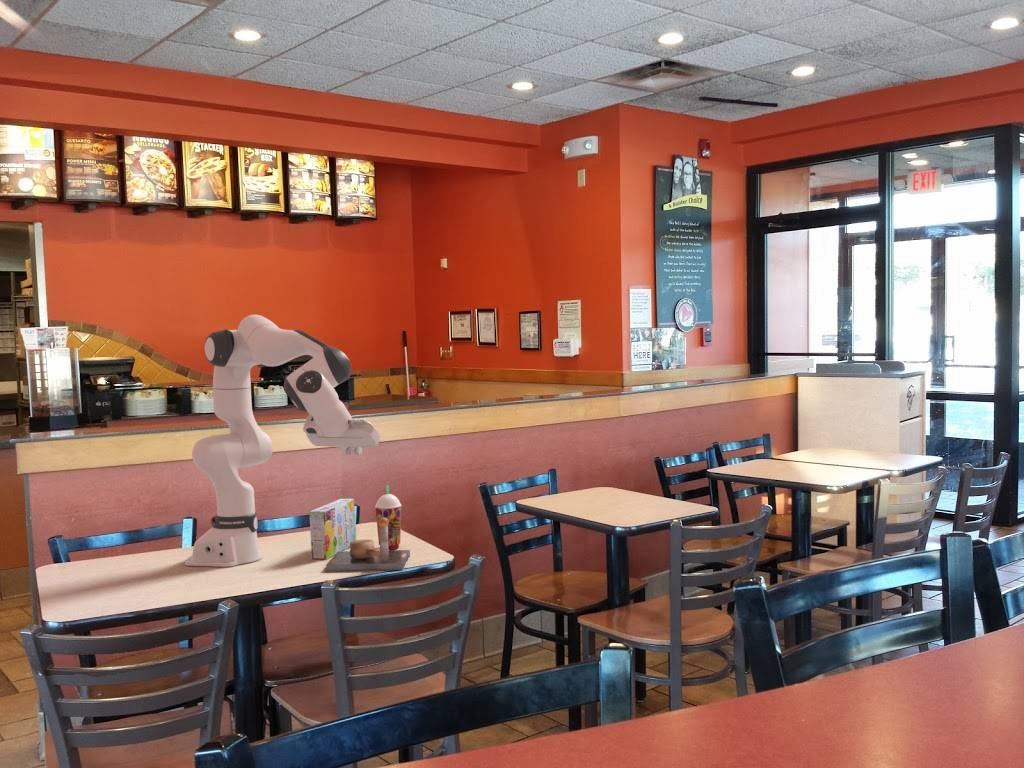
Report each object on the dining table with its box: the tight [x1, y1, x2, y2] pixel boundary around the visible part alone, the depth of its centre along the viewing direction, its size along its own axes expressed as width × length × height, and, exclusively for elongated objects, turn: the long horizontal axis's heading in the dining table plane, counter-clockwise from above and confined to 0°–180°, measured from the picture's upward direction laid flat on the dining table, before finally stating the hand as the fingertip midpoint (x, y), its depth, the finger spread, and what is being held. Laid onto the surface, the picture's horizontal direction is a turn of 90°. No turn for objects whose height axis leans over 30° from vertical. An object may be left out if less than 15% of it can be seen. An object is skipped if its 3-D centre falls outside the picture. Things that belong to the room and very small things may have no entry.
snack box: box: [308, 498, 357, 560], centre depth 285 cm, size 21×6×15 cm, turn 164°
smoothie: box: [374, 485, 402, 550], centre depth 287 cm, size 8×8×20 cm
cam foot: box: [349, 517, 389, 560], centre depth 265 cm, size 15×7×12 cm, turn 49°
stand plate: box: [325, 549, 411, 573], centre depth 268 cm, size 22×16×2 cm
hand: (354, 452), depth 248 cm, fingers closed
